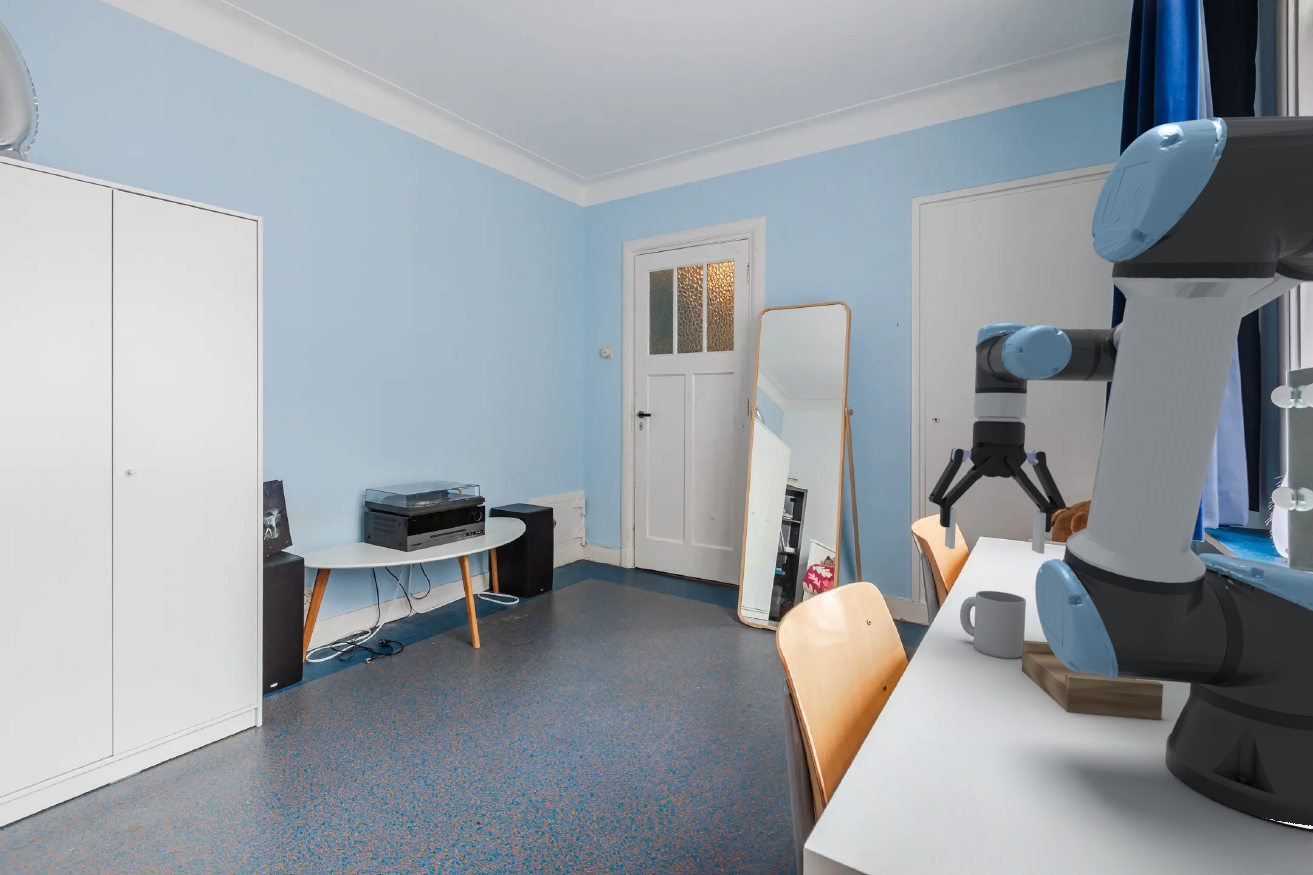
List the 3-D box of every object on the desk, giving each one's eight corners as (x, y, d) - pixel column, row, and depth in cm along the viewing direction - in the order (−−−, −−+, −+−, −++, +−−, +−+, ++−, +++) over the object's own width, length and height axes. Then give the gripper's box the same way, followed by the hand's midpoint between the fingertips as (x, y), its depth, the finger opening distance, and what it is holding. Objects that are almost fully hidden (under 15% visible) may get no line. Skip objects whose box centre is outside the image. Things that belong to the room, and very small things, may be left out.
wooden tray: (1161, 719, 81) (1163, 684, 81) (1067, 711, 83) (1068, 677, 83) (1101, 676, 95) (1102, 646, 95) (1021, 669, 97) (1023, 640, 96)
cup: (1011, 662, 100) (1014, 605, 99) (948, 643, 107) (950, 590, 107) (1031, 653, 104) (1033, 598, 104) (969, 635, 112) (971, 584, 112)
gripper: (1070, 422, 107) (1064, 549, 107) (913, 418, 110) (908, 540, 111) (1094, 422, 99) (1087, 558, 100) (925, 418, 103) (919, 549, 103)
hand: (993, 549), depth 105 cm, fingers open, 13 cm apart
